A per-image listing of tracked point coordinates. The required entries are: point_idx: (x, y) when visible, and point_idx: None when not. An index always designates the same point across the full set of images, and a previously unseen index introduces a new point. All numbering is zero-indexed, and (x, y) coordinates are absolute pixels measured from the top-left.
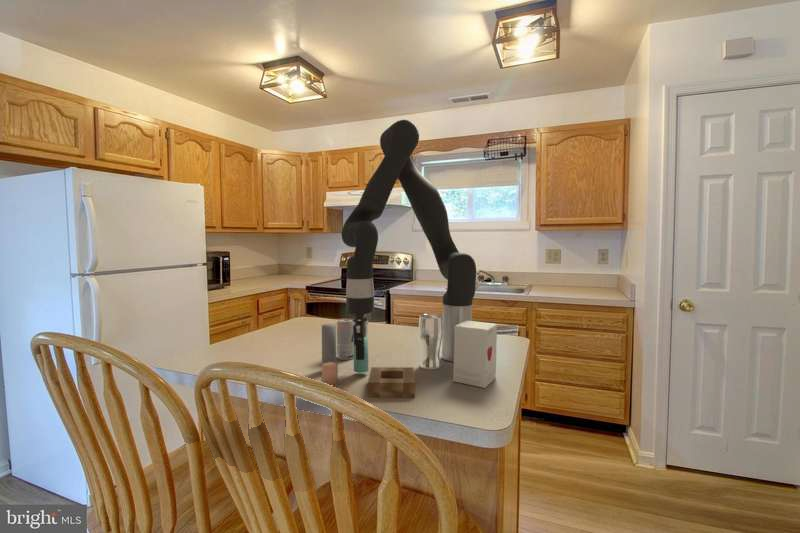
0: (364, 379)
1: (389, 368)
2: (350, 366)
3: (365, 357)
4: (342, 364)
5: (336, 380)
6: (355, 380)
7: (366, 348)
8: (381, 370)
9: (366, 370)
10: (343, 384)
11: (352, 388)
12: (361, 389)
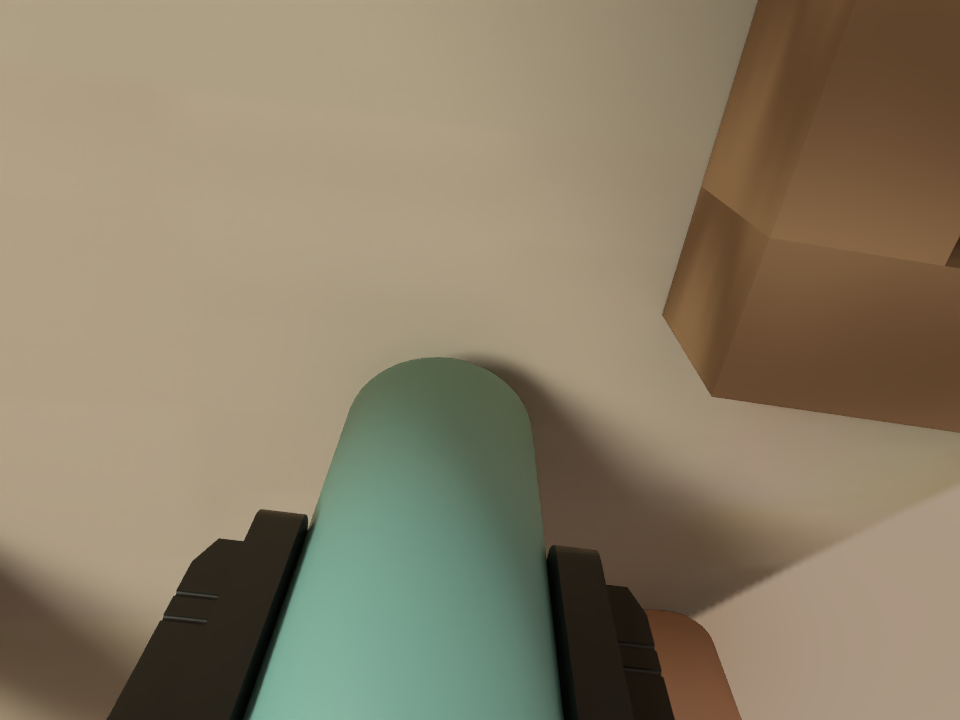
0: (608, 385)
1: (888, 102)
2: (148, 500)
3: (531, 529)
4: (85, 568)
5: (704, 655)
6: (615, 471)
7: (519, 645)
8: (931, 262)
9: (509, 393)
10: (695, 570)
11: (830, 505)
12: (894, 431)
